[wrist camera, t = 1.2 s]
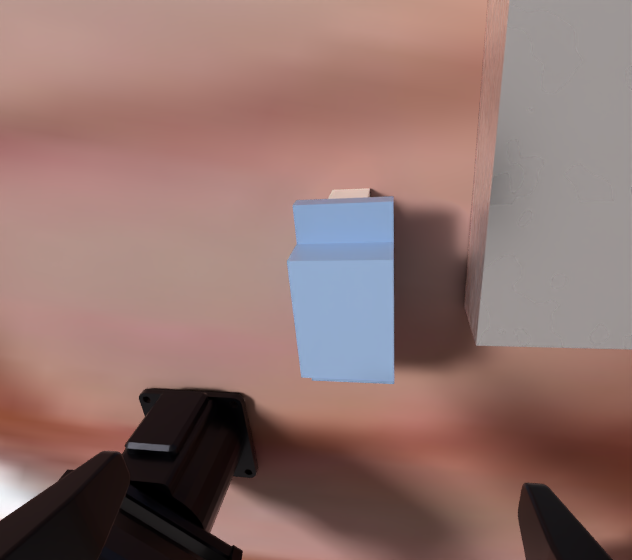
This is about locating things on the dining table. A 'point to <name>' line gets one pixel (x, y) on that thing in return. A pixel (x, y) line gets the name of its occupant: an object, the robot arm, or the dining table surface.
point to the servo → (344, 287)
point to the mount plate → (553, 177)
